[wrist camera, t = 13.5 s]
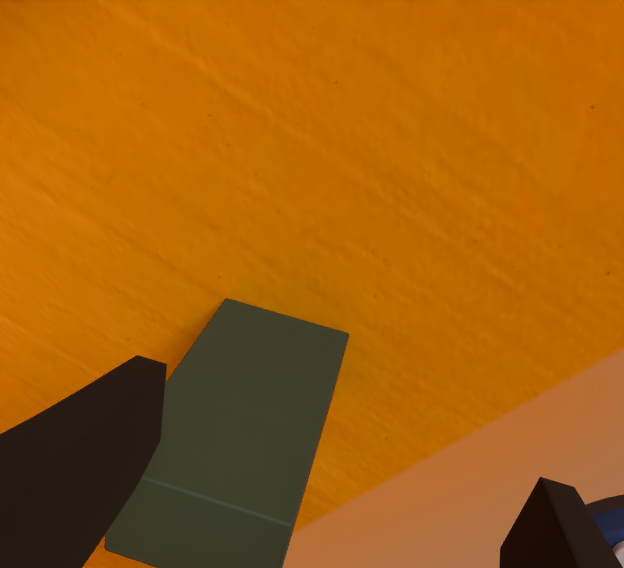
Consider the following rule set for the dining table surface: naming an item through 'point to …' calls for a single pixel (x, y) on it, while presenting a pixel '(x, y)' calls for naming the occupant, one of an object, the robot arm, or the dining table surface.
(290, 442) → the carton
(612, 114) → the dining table surface
